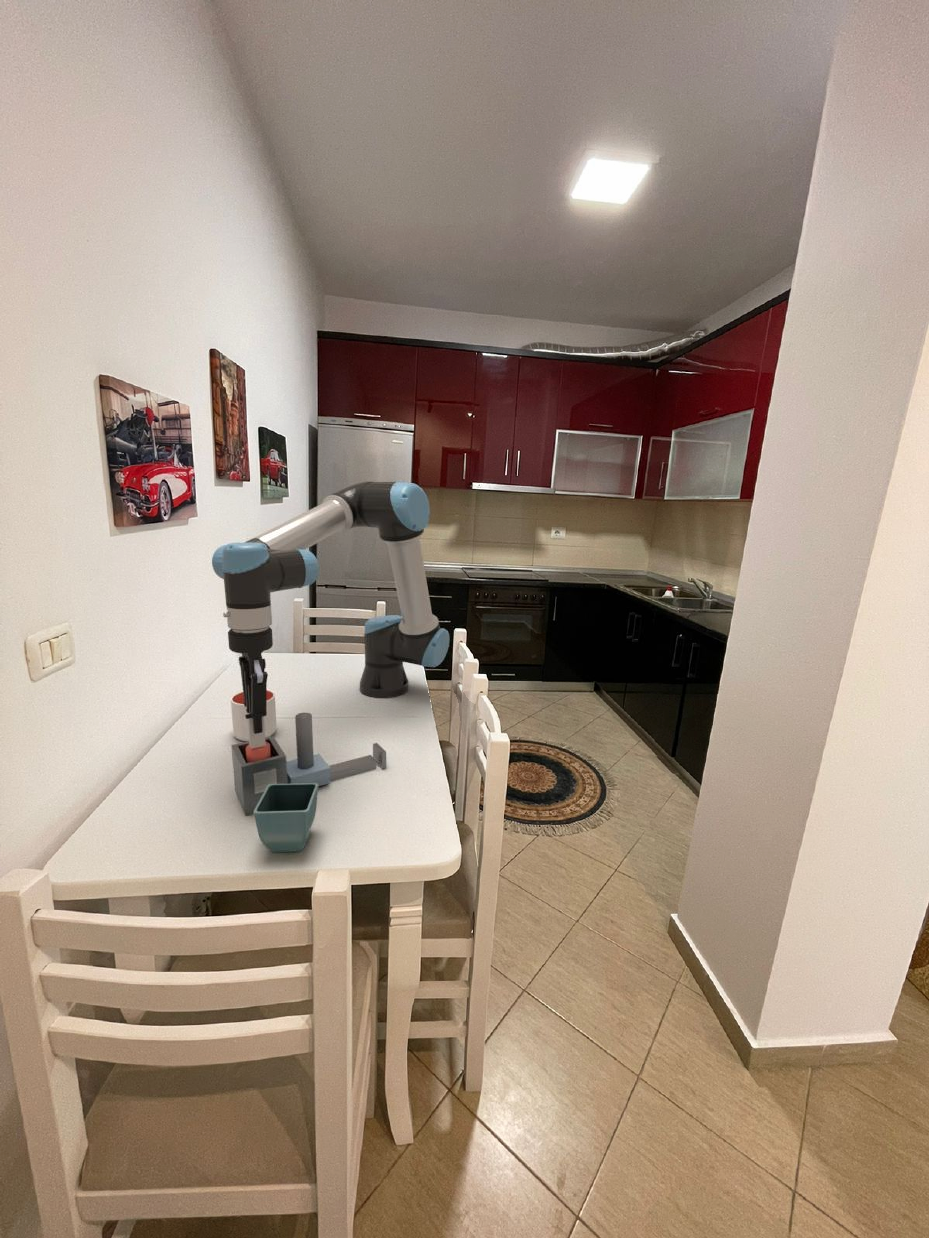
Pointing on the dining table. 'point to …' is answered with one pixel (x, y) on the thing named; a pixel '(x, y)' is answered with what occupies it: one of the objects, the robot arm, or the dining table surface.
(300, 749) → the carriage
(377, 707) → the dining table surface
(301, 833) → the flower pot
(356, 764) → the rail
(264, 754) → the button
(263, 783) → the open box
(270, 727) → the cup
